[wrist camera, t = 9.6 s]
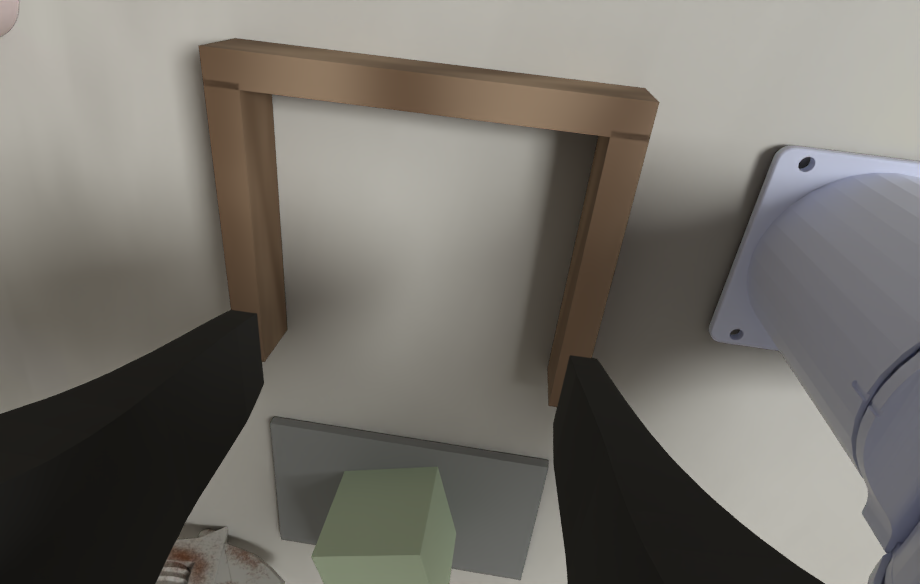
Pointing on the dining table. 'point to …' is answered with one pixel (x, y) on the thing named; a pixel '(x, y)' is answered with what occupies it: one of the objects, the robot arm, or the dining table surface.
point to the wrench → (214, 563)
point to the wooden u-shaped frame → (422, 91)
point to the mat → (461, 468)
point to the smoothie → (8, 14)
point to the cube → (387, 529)
